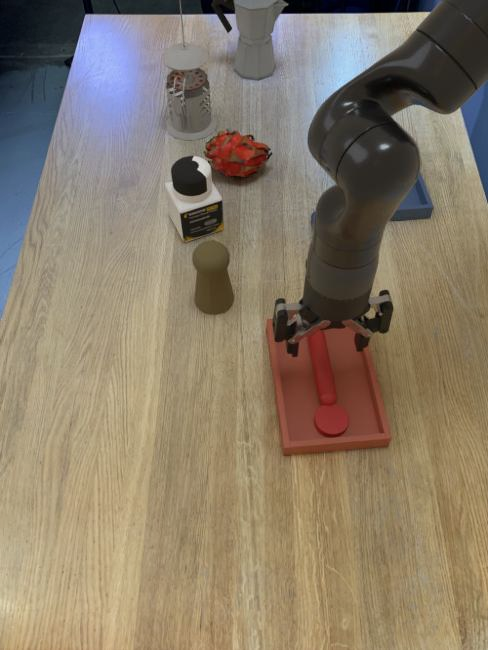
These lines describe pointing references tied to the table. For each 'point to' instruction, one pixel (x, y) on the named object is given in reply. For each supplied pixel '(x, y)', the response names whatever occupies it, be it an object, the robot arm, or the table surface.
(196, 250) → the cork
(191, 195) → the medicine bottle
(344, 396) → the red tray
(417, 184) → the blue tray
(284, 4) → the coffee maker
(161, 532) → the table surface
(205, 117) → the french press
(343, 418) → the red spoon
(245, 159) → the dragon fruit
